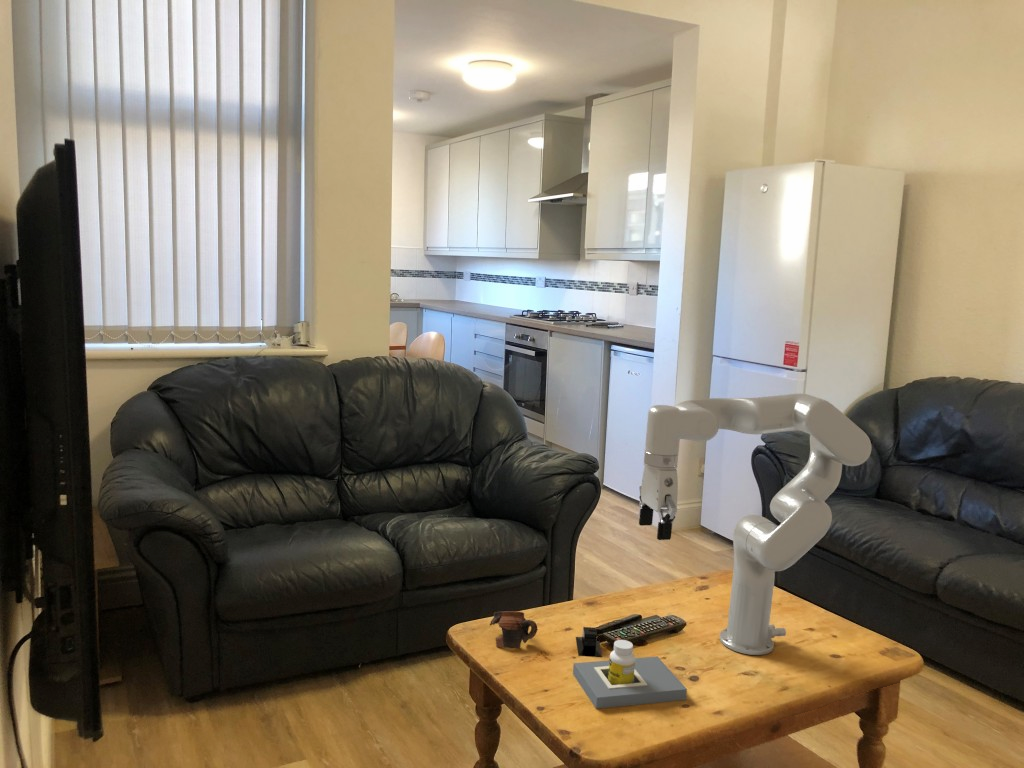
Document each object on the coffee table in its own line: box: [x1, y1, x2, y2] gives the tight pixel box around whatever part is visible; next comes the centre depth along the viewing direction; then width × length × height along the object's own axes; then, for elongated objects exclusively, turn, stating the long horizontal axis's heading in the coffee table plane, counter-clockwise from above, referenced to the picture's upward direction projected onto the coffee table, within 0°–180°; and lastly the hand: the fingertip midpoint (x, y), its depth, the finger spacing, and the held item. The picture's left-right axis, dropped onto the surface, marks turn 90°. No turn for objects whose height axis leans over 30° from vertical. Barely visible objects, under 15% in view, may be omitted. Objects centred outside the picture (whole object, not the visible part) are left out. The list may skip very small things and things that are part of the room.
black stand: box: [575, 626, 603, 658], centre depth 187 cm, size 12×7×5 cm, turn 179°
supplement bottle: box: [608, 639, 636, 685], centre depth 169 cm, size 5×5×10 cm
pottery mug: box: [489, 610, 539, 649], centre depth 188 cm, size 12×10×8 cm
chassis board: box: [572, 655, 688, 710], centre depth 170 cm, size 20×14×3 cm
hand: (654, 532), depth 184 cm, fingers open, 9 cm apart
